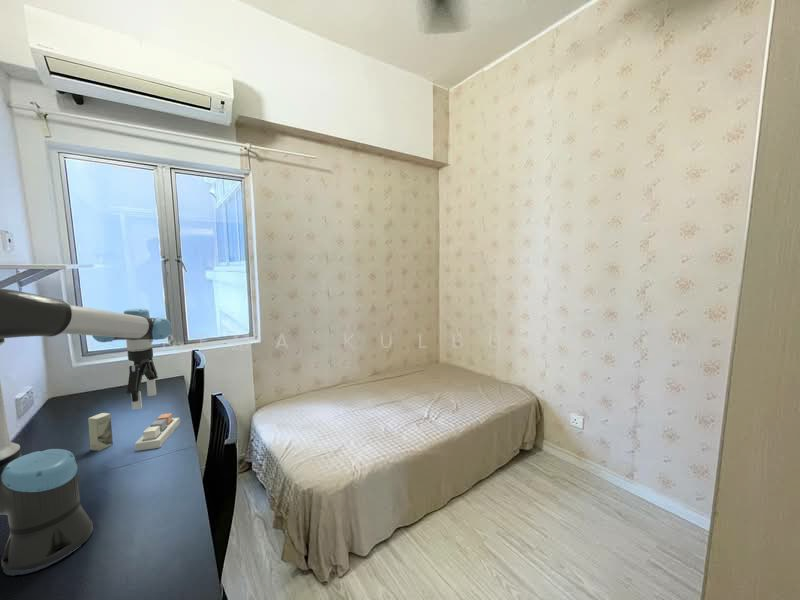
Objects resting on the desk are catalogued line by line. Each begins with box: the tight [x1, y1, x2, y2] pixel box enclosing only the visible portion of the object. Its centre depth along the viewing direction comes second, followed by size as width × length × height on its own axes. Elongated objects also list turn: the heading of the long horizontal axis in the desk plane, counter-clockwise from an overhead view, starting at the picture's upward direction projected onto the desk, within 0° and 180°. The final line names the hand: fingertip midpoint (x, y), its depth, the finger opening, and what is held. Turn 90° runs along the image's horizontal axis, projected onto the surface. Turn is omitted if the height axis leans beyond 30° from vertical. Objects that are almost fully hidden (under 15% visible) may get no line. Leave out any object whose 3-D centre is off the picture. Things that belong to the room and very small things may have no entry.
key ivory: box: [142, 426, 160, 440], centre depth 126 cm, size 4×4×3 cm
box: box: [87, 412, 114, 452], centre depth 123 cm, size 5×4×13 cm
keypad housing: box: [134, 417, 181, 452], centre depth 132 cm, size 20×8×3 cm, turn 16°
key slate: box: [149, 419, 167, 431], centre depth 131 cm, size 4×4×3 cm
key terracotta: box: [156, 412, 173, 425], centre depth 137 cm, size 4×4×3 cm
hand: (145, 401), depth 124 cm, fingers open, 13 cm apart
